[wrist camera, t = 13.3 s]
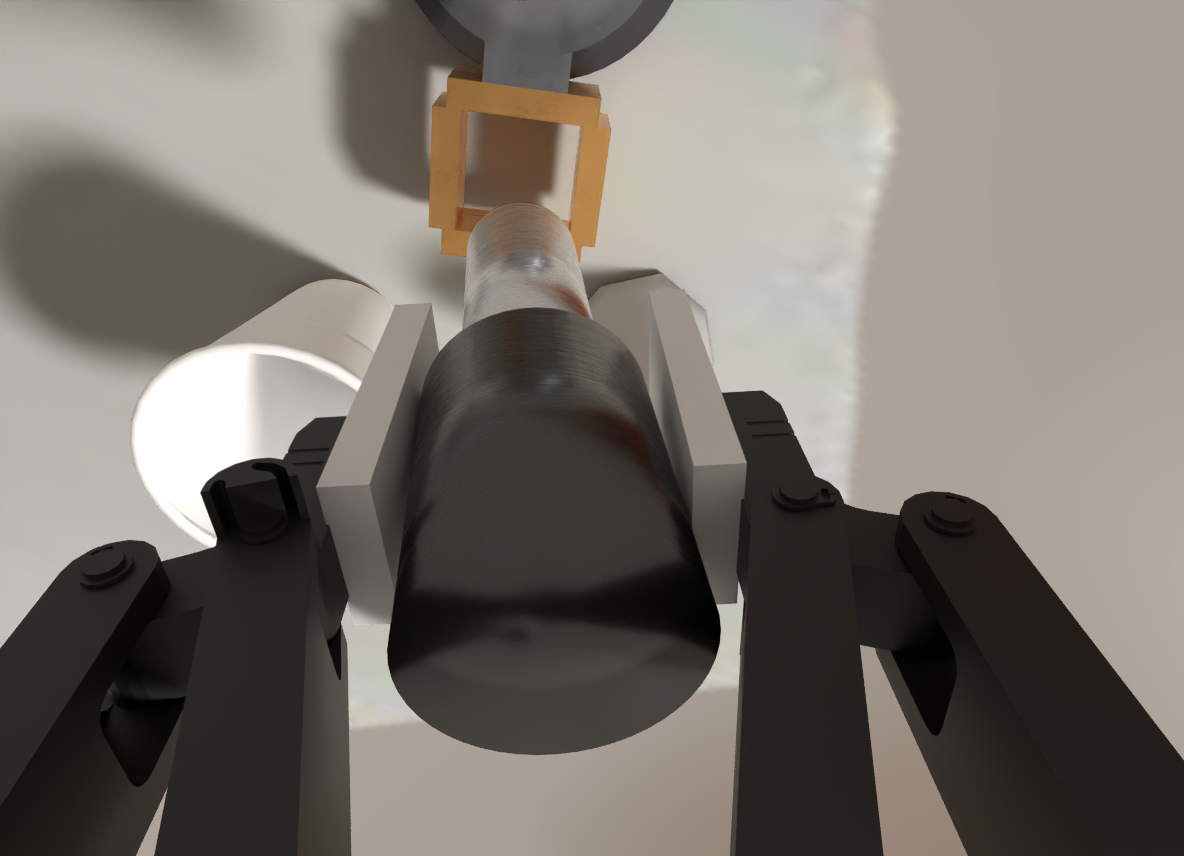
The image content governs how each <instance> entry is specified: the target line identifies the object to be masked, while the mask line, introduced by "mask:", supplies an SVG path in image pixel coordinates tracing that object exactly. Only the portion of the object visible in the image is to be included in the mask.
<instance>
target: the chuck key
mask: <svg viewBox="0 0 1184 856" xmlns="http://www.w3.org/2000/svg"><path fill="white" fill-rule="evenodd" d="M720 634H721V626H720V616H719V612H718V609H717V606H716V602H715V599H714V596H713V593H712V590H711V587H710V584H709V580H708V577H707V574H706V571H705V568H704V565H703V562H702V559H701V555H700V552H699V549H698V546H697V543H696V540H695V537H694V533H693V530H692V527H691V524H690V521H689V518H688V515H687V512H686V508H685V505H684V502H683V499H682V496H681V493H680V490H679V486H678V483H677V480H676V477H675V474H674V471H673V468H672V465H671V461H670V458H669V455H668V452H667V449H666V446H665V443H664V439H663V436H662V433H661V430H660V427H659V424H658V421H657V418H656V414H655V411H654V408H653V405H652V402H651V399H650V396H649V392H648V389H647V386H646V383H645V380H644V377H643V374H642V371H641V368H640V366H639V364H638V362H637V360H636V358H635V357H634V355H633V354H632V353H631V351H630V350H629V348H628V347H627V346H626V345H625V344H624V343H623V342H622V341H621V340H620V338H619V337H617V336H616V335H615V334H614V333H612V332H611V331H610V330H609V329H607V328H606V327H604V326H602V325H601V324H599V323H597V322H596V321H594V320H593V319H592V315H591V310H590V306H589V302H588V298H587V294H586V290H585V286H584V282H583V278H582V273H581V269H580V265H579V261H578V257H577V253H576V249H575V245H574V241H573V238H572V235H571V233H570V231H569V229H568V228H567V226H566V225H565V223H564V222H563V221H562V220H561V219H560V218H559V217H558V216H557V215H556V214H555V213H553V212H552V211H550V210H549V209H546V208H544V207H542V206H539V205H536V204H532V203H524V202H517V203H510V204H505V205H502V206H499V207H497V208H495V209H493V210H492V211H490V212H489V213H487V214H486V215H485V216H484V217H482V218H481V219H480V221H479V222H478V223H477V224H476V226H475V227H474V229H473V231H472V233H471V235H470V238H469V241H468V247H467V259H466V276H465V292H464V309H463V325H462V331H461V332H460V333H458V334H457V335H456V336H455V337H454V338H453V339H451V340H450V341H449V342H448V343H447V344H446V345H445V347H444V348H443V349H442V350H441V351H440V352H439V354H438V355H437V357H436V358H435V360H434V361H433V363H432V364H431V366H430V368H429V371H428V373H427V375H426V377H425V381H424V384H423V387H422V394H421V401H420V408H419V416H418V423H417V431H416V438H415V446H414V453H413V461H412V468H411V476H410V483H409V491H408V498H407V506H406V513H405V521H404V528H403V535H402V543H401V550H400V558H399V565H398V573H397V580H396V588H395V595H394V603H393V610H392V618H391V625H390V633H389V640H388V648H387V655H388V666H389V670H390V674H391V677H392V680H393V682H394V684H395V687H396V689H397V691H398V693H399V694H400V696H401V697H402V698H403V700H404V701H405V703H406V704H407V705H408V706H409V707H410V708H411V709H412V710H413V711H414V712H415V713H416V714H417V715H418V716H419V717H420V718H421V719H423V720H424V721H425V722H427V723H428V724H429V725H431V726H432V727H434V728H436V729H437V730H439V731H440V732H442V733H444V734H446V735H448V736H450V737H452V738H455V739H457V740H459V741H462V742H464V743H468V744H470V745H474V746H477V747H480V748H484V749H489V750H494V751H498V752H506V753H513V754H530V755H546V754H561V753H570V752H578V751H583V750H588V749H593V748H597V747H601V746H604V745H608V744H611V743H614V742H617V741H620V740H622V739H625V738H628V737H631V736H633V735H635V734H637V733H639V732H641V731H643V730H646V729H648V728H649V727H651V726H653V725H655V724H656V723H658V722H660V721H661V720H663V719H664V718H666V717H667V716H669V715H670V714H671V713H673V712H674V711H675V710H677V709H678V708H679V707H680V706H681V705H682V704H683V703H685V702H686V701H687V700H688V699H689V698H690V697H691V696H692V695H693V694H694V692H695V691H696V690H697V689H698V688H699V687H700V686H701V684H702V683H703V681H704V680H705V678H706V676H707V675H708V673H709V672H710V670H711V667H712V665H713V663H714V661H715V659H716V655H717V652H718V648H719V644H720Z"/></svg>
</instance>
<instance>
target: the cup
mask: <svg viewBox="0 0 1184 856" xmlns="http://www.w3.org/2000/svg"><path fill="white" fill-rule="evenodd" d="M393 309H394V307H393V306H392V305H391V304H390V303H389V302H388V301H387V300H386V299H385V298H384V297H382V296H381V295H379V294H378V293H377V292H375V291H374V290H372V289H370V288H368V287H366V286H364V285H362V284H358V283H355V282H351V281H347V280H339V279H328V280H319V281H315V282H312V283H308V284H306V285H305V286H303V287H301V288H299V289H297V290H295V291H294V292H292V293H291V294H289V295H287V296H286V297H284V298H283V299H281V300H280V301H279V302H277V303H275V304H274V305H272V306H270V307H269V308H267V309H266V310H265V311H263V312H261V313H260V314H258V315H256V316H255V317H254V318H252V319H250V320H249V321H247V322H245V323H244V324H243V325H241V326H239V327H238V328H236V329H234V330H233V331H231V332H229V333H228V334H226V335H224V336H223V337H221V338H220V339H218V340H216V341H215V342H213V343H212V344H210V345H208V346H206V347H202V348H198V349H194V350H192V351H190V352H188V353H186V354H184V355H182V356H180V357H178V358H176V359H175V360H173V361H171V362H169V363H168V364H167V365H166V366H165V367H164V368H162V369H161V370H160V371H159V372H158V373H157V374H156V375H154V376H153V377H152V378H151V380H150V381H149V383H148V384H147V386H146V387H145V389H144V390H143V392H142V393H141V395H140V396H139V398H138V400H137V403H136V406H135V409H134V413H133V416H132V419H131V435H130V444H131V449H132V454H133V459H134V464H135V467H136V469H137V472H138V474H139V476H140V478H141V481H142V483H143V485H144V487H145V489H146V490H147V492H148V493H149V494H150V496H151V497H152V499H153V500H154V502H155V503H156V504H157V506H158V507H159V508H160V509H161V510H162V511H163V512H164V513H165V514H166V515H167V516H168V517H169V518H170V519H171V520H172V521H173V523H174V524H175V525H176V526H178V527H179V528H180V529H182V530H183V531H185V532H186V533H187V534H189V535H190V536H191V537H193V538H194V539H195V540H197V541H198V542H200V543H202V544H204V545H206V546H208V547H209V548H212V547H214V546H216V541H217V537H216V534H215V531H214V529H213V526H212V523H211V521H210V518H209V515H208V513H207V510H206V507H205V505H204V502H203V499H202V497H201V494H200V492H201V490H202V488H203V486H204V485H205V483H206V482H207V481H208V480H209V479H210V478H212V477H213V476H214V475H215V474H216V473H218V472H219V471H221V470H223V469H225V468H228V467H230V466H232V465H234V464H236V463H240V462H244V461H247V460H251V459H259V458H276V459H282V460H283V458H284V456H285V455H286V453H288V449H289V447H290V445H291V443H292V441H293V439H294V437H295V435H296V434H297V433H298V432H299V431H300V430H301V429H302V428H304V427H305V426H306V425H307V424H309V423H310V422H311V421H312V420H313V419H315V418H319V417H337V416H347V415H348V413H349V410H350V408H351V406H352V404H353V401H354V399H355V397H356V394H357V392H358V390H359V387H360V385H361V383H362V381H363V378H364V376H365V374H366V371H367V369H368V367H369V365H370V362H371V360H372V358H373V355H374V353H375V351H376V348H377V346H378V344H379V342H380V339H381V337H382V335H383V332H384V330H385V328H386V326H387V323H388V321H389V319H390V316H391V314H392V312H393Z"/></svg>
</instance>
